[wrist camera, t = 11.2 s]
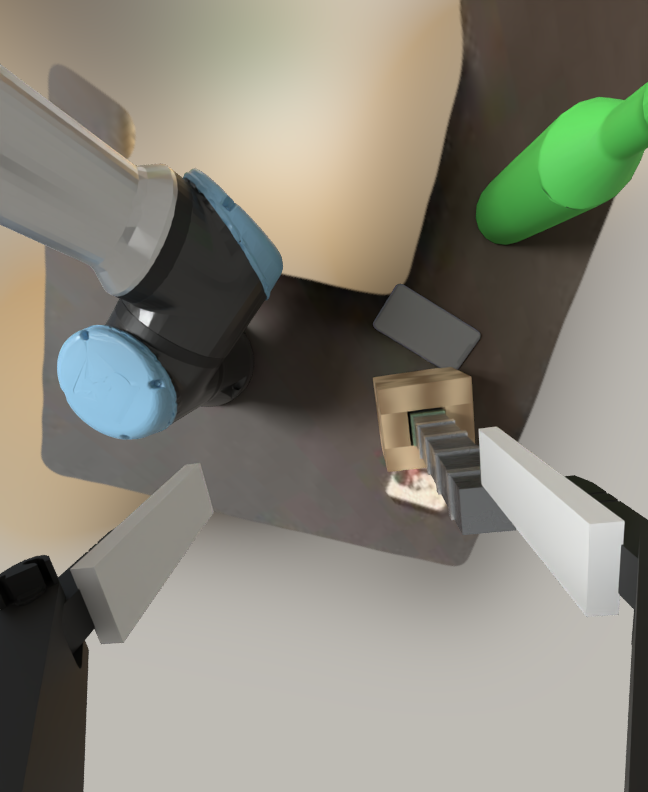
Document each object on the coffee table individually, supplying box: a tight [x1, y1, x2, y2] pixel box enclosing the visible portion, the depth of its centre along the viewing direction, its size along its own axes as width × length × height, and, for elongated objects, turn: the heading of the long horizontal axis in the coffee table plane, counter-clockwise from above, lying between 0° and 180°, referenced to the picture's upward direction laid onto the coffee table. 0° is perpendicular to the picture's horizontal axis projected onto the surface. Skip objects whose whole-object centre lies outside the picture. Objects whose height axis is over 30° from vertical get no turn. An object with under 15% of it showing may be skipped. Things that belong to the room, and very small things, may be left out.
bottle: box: [476, 82, 648, 245], centre depth 31 cm, size 9×9×25 cm
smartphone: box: [373, 284, 480, 370], centre depth 48 cm, size 8×1×15 cm
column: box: [408, 407, 516, 535], centre depth 35 cm, size 4×4×22 cm
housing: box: [373, 367, 475, 472], centre depth 46 cm, size 12×12×11 cm
